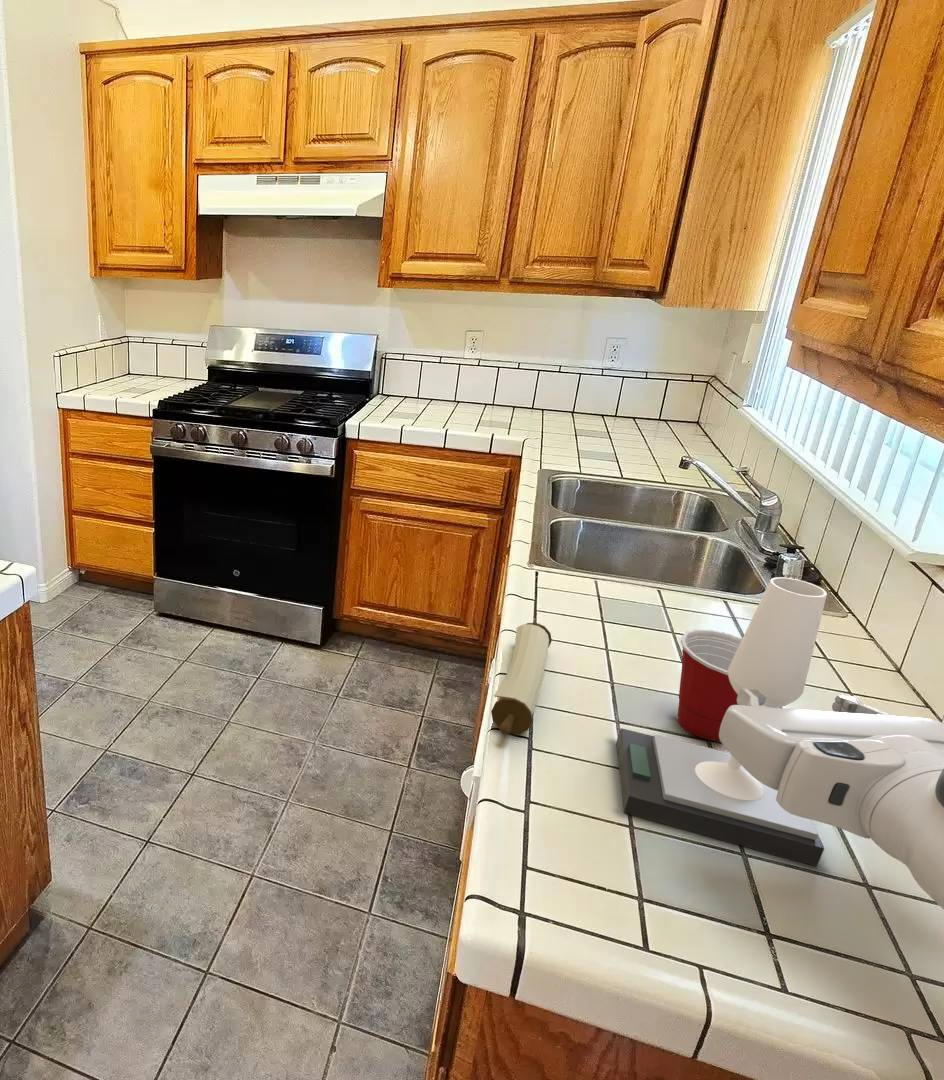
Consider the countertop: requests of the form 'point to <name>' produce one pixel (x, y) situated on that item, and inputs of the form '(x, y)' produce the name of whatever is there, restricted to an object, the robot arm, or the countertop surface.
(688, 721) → the plastic cup
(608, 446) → the countertop surface
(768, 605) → the champagne flute
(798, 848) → the kitchen scale
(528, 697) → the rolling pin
